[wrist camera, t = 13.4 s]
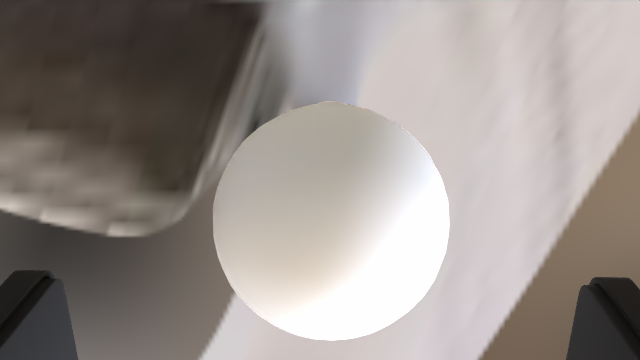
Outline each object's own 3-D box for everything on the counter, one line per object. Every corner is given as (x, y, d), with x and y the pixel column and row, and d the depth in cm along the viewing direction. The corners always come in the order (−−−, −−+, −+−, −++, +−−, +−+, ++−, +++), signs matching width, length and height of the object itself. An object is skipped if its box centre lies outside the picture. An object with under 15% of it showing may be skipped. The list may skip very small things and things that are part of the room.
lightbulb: (432, 163, 24) (510, 343, 13) (292, 220, 25) (267, 425, 15) (373, 18, 21) (412, 102, 11) (222, 87, 23) (135, 220, 12)
